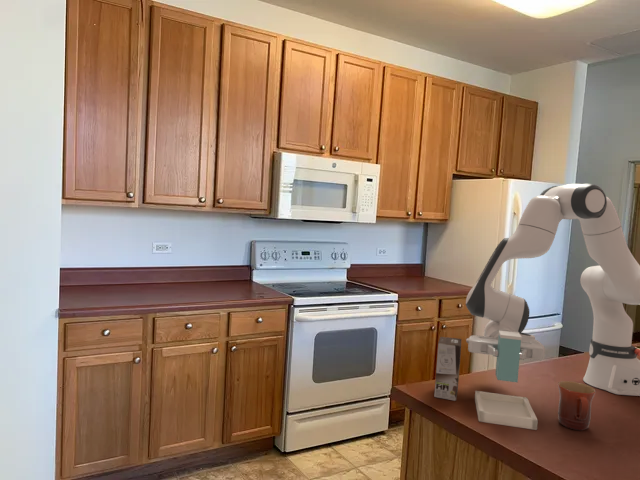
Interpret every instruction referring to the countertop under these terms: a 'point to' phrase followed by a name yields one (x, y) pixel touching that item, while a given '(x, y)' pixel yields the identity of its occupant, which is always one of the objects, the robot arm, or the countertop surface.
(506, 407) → the tray
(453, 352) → the coffee box
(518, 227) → the robot arm
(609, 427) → the countertop surface
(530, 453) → the countertop surface
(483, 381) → the countertop surface
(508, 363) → the tea tin
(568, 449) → the countertop surface
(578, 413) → the mug
